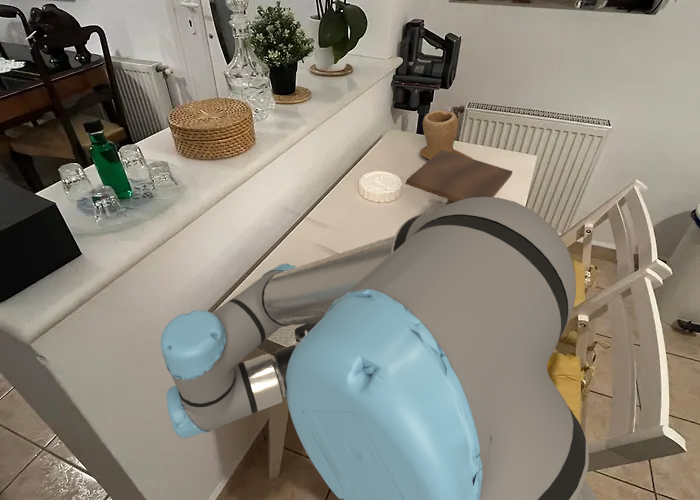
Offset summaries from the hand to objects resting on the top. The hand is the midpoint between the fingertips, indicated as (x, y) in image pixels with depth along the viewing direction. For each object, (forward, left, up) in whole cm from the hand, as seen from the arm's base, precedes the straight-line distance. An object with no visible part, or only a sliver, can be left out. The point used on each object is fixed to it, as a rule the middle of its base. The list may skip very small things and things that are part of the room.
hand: (400, 331), depth 72 cm
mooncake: (+32, -45, -8) cm, 56 cm away
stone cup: (+26, -71, -8) cm, 77 cm away
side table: (+9, -42, -8) cm, 43 cm away
